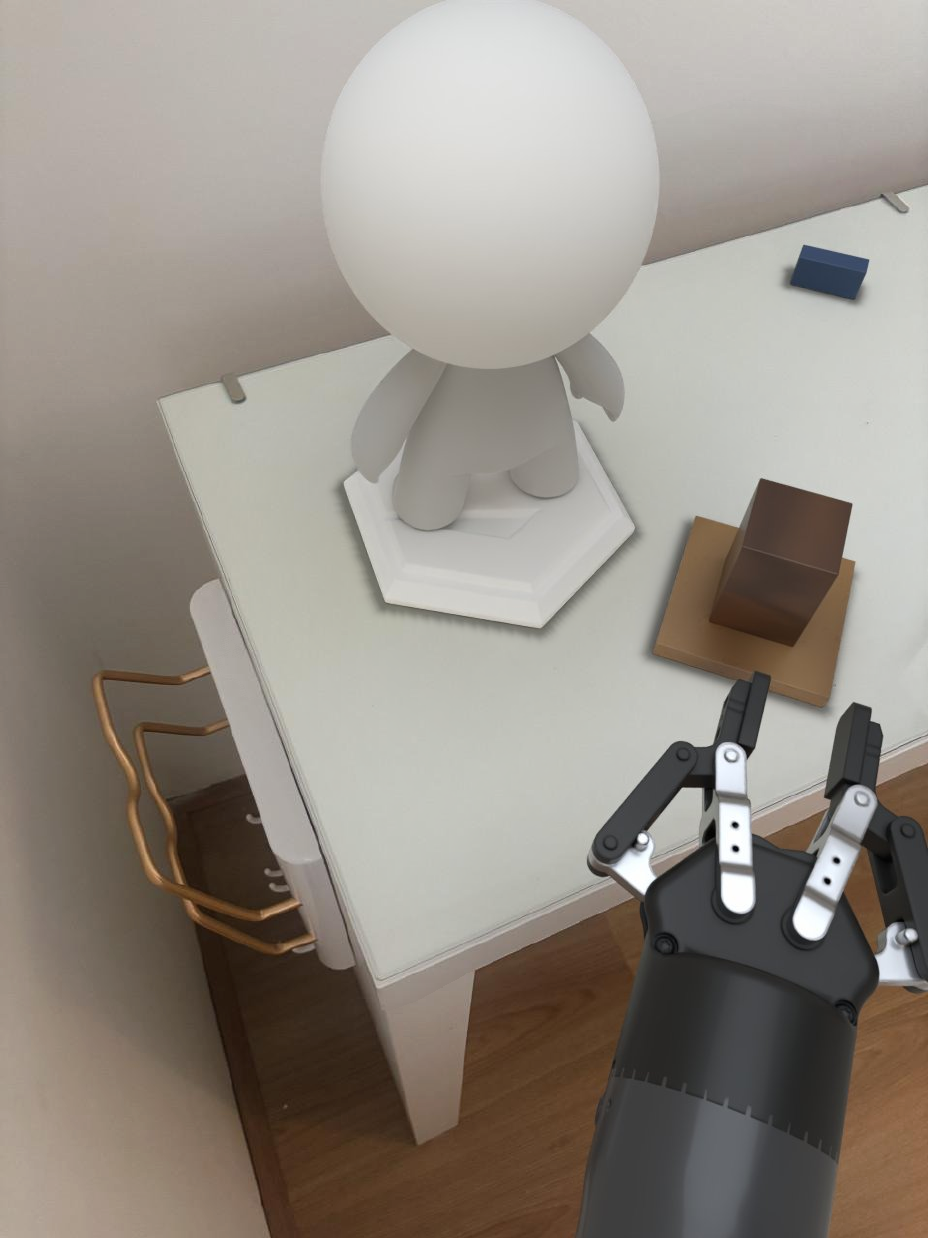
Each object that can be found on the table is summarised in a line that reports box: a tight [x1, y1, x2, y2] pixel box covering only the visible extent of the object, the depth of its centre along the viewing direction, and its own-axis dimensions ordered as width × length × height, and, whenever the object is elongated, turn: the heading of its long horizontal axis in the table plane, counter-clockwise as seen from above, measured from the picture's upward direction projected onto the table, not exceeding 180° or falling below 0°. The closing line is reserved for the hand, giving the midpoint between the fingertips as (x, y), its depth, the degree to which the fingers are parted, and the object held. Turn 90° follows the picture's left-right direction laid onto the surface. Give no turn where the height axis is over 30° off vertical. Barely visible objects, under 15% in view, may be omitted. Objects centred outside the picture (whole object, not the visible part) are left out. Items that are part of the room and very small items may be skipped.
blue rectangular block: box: [789, 244, 870, 300], centre depth 84 cm, size 6×2×3 cm, turn 69°
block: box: [652, 477, 856, 708], centre depth 62 cm, size 12×12×10 cm
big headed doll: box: [320, 0, 660, 629], centre depth 57 cm, size 20×23×35 cm
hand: (804, 698), depth 39 cm, fingers open, 3 cm apart
